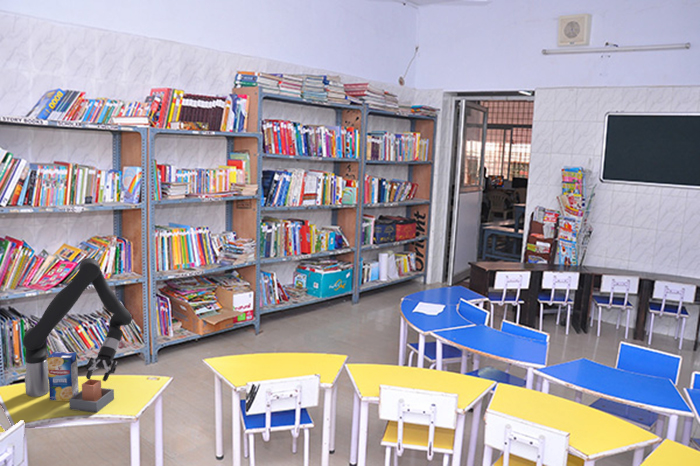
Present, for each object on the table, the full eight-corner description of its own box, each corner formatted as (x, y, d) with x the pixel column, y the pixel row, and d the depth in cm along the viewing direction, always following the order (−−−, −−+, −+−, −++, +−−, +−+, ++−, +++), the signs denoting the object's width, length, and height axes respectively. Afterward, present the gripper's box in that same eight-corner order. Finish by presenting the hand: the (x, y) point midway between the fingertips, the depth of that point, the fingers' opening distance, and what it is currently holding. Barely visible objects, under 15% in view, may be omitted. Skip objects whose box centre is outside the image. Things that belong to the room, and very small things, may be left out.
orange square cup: (82, 404, 269) (81, 384, 267) (90, 398, 275) (89, 379, 273) (94, 405, 268) (93, 385, 266) (101, 399, 274) (100, 380, 272)
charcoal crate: (69, 409, 266) (69, 399, 265) (88, 395, 279) (87, 386, 278) (96, 412, 263) (96, 402, 262) (114, 398, 277) (113, 389, 276)
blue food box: (72, 400, 274) (70, 357, 270) (49, 400, 273) (46, 357, 269) (78, 394, 280) (76, 352, 277) (56, 393, 280) (53, 351, 276)
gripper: (92, 344, 280) (78, 375, 271) (118, 347, 278) (105, 378, 269) (99, 350, 286) (86, 380, 277) (125, 353, 284) (112, 384, 275)
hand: (95, 379), depth 273 cm, fingers open, 8 cm apart
